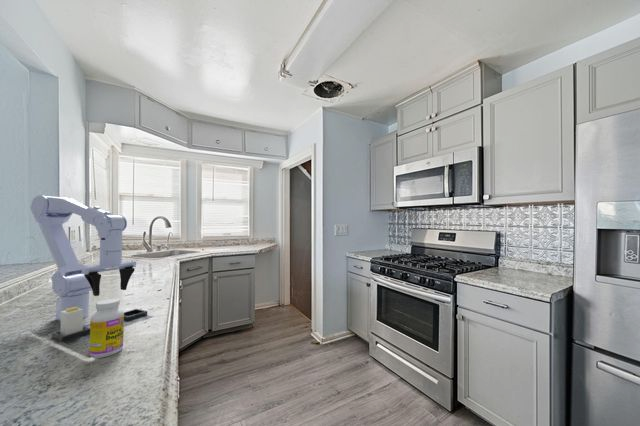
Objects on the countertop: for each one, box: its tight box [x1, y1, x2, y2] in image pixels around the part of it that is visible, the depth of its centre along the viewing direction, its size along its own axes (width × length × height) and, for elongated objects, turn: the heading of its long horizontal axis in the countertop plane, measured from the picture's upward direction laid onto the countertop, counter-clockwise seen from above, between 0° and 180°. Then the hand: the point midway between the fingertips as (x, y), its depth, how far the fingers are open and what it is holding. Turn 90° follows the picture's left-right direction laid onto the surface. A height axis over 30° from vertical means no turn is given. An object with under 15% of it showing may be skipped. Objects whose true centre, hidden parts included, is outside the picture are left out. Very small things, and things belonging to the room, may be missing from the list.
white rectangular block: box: [59, 307, 84, 336], centre depth 74 cm, size 4×4×8 cm
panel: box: [46, 308, 155, 346], centre depth 81 cm, size 14×22×2 cm, turn 154°
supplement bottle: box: [89, 298, 125, 359], centre depth 66 cm, size 7×7×13 cm
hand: (110, 292), depth 85 cm, fingers open, 7 cm apart
